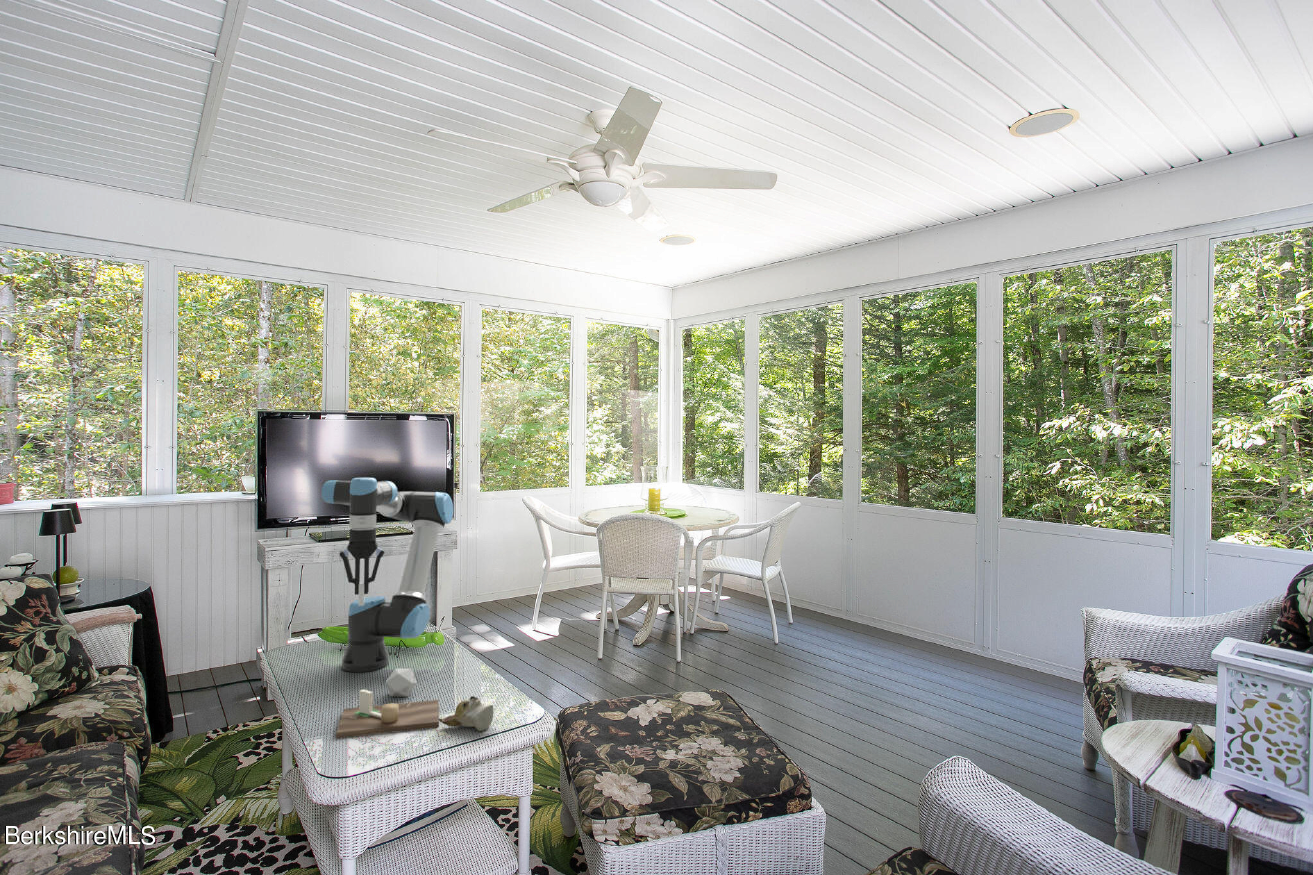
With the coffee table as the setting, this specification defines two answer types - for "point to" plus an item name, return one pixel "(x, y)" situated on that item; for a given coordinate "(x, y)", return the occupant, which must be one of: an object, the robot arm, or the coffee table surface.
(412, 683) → the die
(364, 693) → the knob lever
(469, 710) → the ceramic sculpture
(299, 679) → the coffee table surface
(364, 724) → the dial plate
